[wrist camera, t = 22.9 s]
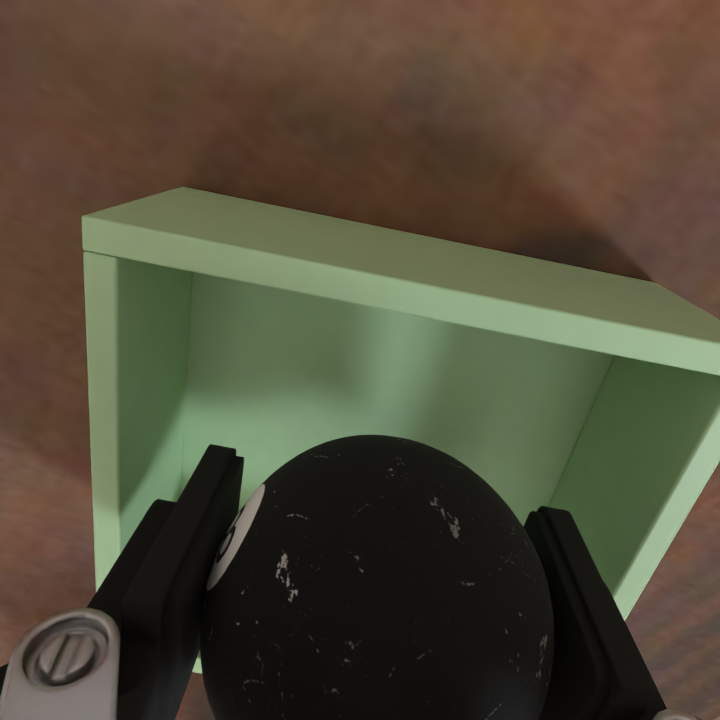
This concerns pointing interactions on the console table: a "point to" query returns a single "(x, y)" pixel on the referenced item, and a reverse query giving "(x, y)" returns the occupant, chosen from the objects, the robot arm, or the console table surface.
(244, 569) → the billiard ball
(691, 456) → the ball bin
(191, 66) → the console table surface
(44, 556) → the console table surface
